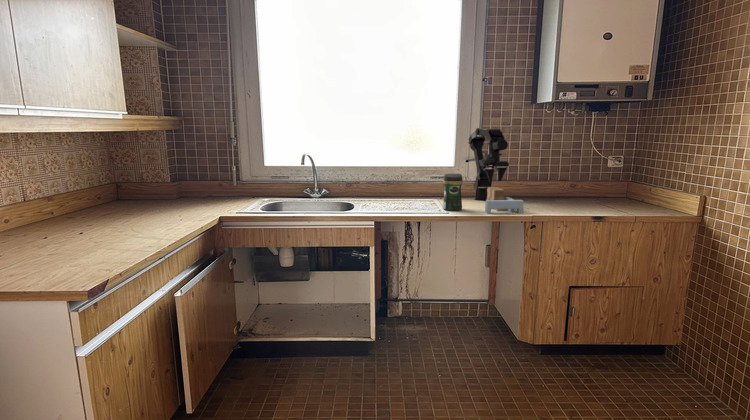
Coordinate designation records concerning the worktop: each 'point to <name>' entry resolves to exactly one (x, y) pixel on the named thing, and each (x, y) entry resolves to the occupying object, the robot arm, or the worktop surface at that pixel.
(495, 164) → the robot arm
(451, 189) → the coffee jar
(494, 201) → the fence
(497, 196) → the tan stepped block
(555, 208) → the worktop surface
